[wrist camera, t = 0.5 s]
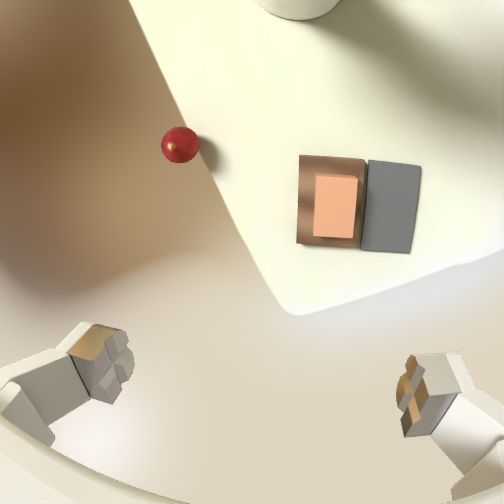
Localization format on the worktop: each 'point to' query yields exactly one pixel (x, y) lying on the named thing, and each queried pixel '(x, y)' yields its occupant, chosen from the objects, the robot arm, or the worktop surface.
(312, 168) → the board
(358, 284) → the worktop surface
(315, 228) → the orange rectangular block
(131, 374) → the robot arm
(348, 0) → the worktop surface
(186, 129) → the onion
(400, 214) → the mat
